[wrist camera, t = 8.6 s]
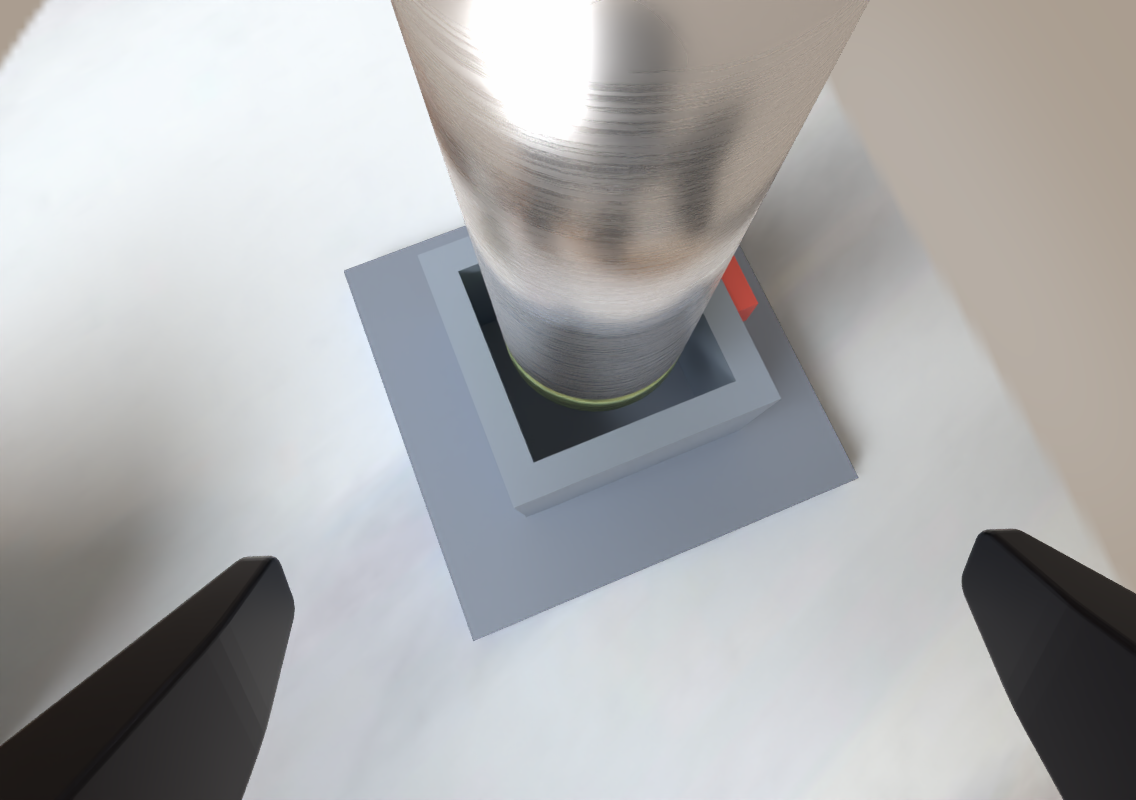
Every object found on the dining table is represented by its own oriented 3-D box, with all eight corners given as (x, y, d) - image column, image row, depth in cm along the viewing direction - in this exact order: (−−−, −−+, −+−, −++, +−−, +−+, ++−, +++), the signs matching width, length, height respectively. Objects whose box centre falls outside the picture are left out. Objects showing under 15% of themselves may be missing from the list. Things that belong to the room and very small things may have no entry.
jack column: (714, 370, 15) (1037, -50, 5) (543, 439, 15) (462, 158, 4) (640, 215, 16) (767, -429, 6) (477, 277, 16) (279, -284, 5)
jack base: (844, 481, 20) (932, 458, 15) (478, 636, 19) (445, 665, 14) (682, 161, 22) (712, 52, 18) (354, 283, 21) (289, 204, 17)
